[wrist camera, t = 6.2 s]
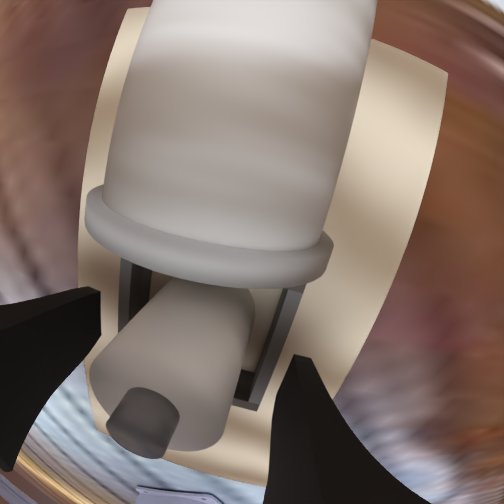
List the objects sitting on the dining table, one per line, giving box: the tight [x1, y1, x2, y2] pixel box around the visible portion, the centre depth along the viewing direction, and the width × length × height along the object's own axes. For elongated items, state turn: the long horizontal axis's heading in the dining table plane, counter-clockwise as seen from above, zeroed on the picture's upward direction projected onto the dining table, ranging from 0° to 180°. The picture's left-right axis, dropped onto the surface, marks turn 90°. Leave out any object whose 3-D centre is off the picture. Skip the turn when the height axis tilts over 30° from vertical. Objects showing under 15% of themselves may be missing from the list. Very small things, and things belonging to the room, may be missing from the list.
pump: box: [89, 277, 255, 459], centre depth 9 cm, size 4×4×7 cm
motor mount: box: [78, 0, 448, 487], centre depth 10 cm, size 27×14×7 cm, turn 166°
